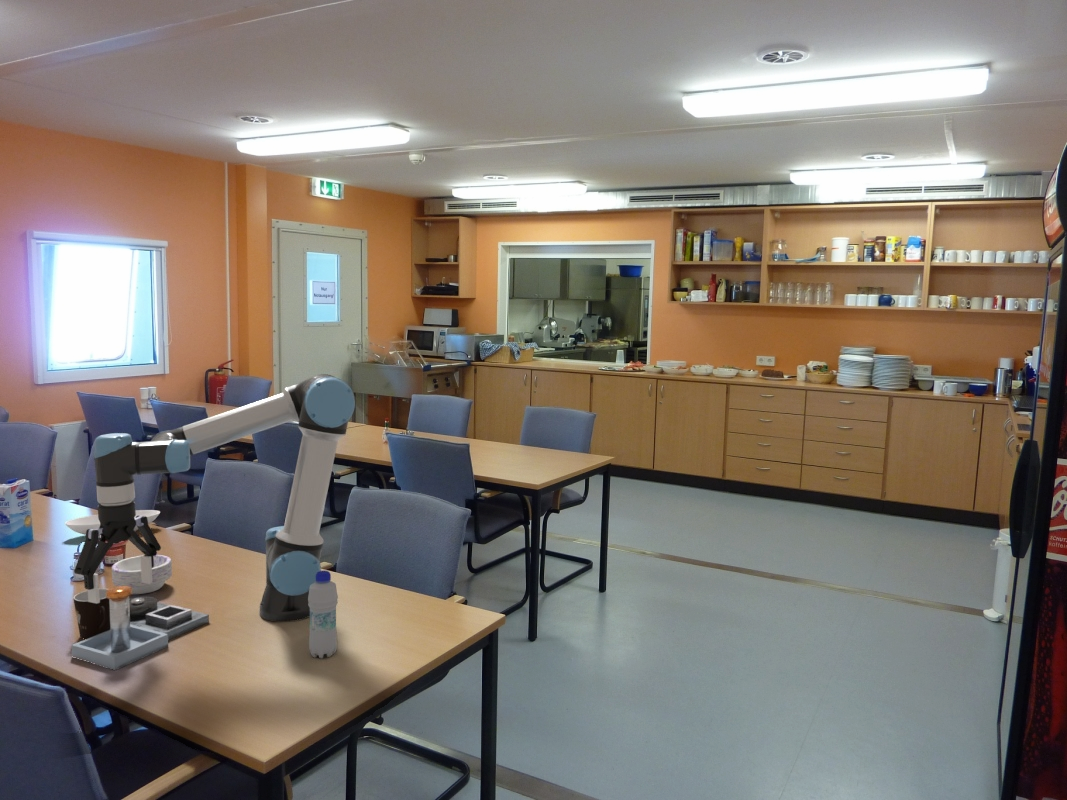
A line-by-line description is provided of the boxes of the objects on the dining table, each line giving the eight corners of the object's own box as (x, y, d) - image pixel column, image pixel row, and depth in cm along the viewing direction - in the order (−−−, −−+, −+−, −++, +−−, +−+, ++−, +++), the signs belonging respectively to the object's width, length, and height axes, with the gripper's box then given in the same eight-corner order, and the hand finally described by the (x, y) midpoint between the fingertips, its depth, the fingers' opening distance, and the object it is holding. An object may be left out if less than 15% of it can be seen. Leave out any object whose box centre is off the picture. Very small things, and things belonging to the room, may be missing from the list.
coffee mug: (78, 629, 188) (77, 590, 187) (118, 625, 191) (116, 587, 190) (68, 649, 177) (66, 607, 176) (110, 644, 180) (109, 603, 179)
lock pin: (138, 647, 178) (137, 588, 176) (118, 655, 173) (116, 595, 171) (123, 642, 180) (121, 584, 178) (102, 651, 175) (100, 591, 173)
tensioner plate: (209, 622, 195) (208, 602, 194) (162, 642, 182) (162, 621, 181) (147, 607, 203) (147, 588, 203) (99, 625, 191) (99, 605, 190)
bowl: (155, 523, 285) (154, 507, 285) (165, 532, 274) (165, 515, 273) (62, 535, 266) (61, 518, 266) (69, 546, 255) (68, 528, 254)
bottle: (326, 645, 182) (326, 564, 180) (343, 653, 178) (343, 571, 176) (302, 654, 177) (301, 571, 175) (319, 663, 173) (319, 578, 171)
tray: (168, 646, 180) (167, 634, 179) (114, 670, 167) (114, 657, 167) (126, 635, 185) (126, 623, 185) (71, 657, 173) (71, 644, 172)
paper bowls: (99, 595, 211) (98, 567, 210) (139, 577, 226) (139, 551, 225) (146, 601, 208) (145, 573, 207) (184, 583, 222) (183, 556, 222)
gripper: (151, 489, 185) (156, 573, 188) (51, 512, 163) (58, 608, 165) (174, 491, 182) (178, 577, 185) (75, 516, 160) (81, 613, 162)
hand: (121, 592), depth 175 cm, fingers open, 13 cm apart
